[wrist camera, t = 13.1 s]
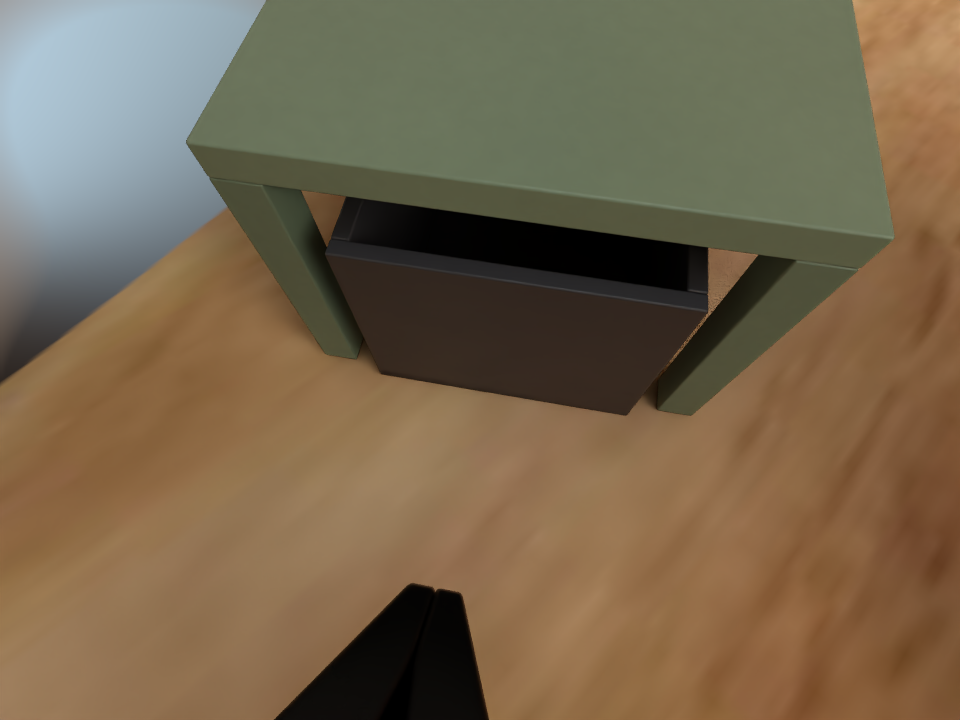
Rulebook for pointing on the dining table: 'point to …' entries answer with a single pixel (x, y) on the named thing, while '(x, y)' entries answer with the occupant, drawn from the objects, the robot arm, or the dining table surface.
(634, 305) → the storage basket
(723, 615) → the dining table surface
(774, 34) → the green footstool
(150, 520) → the dining table surface
